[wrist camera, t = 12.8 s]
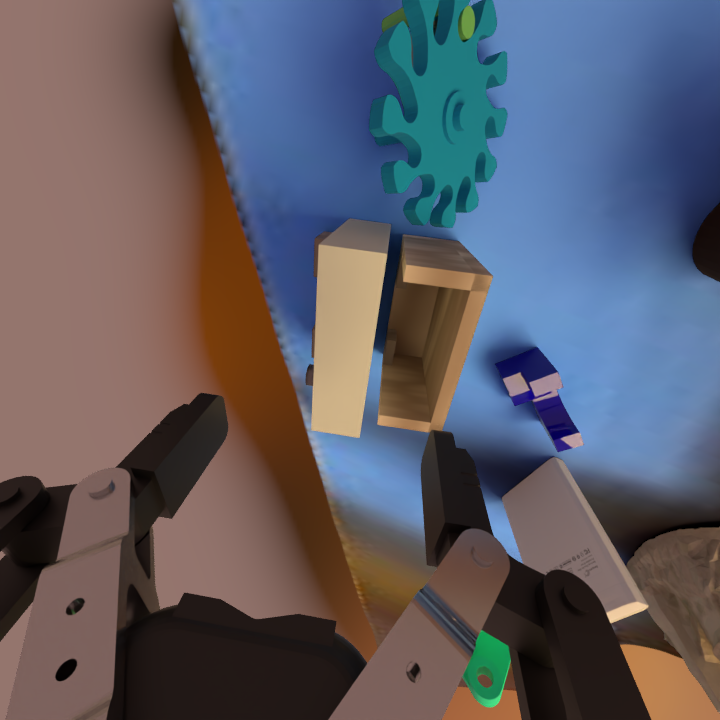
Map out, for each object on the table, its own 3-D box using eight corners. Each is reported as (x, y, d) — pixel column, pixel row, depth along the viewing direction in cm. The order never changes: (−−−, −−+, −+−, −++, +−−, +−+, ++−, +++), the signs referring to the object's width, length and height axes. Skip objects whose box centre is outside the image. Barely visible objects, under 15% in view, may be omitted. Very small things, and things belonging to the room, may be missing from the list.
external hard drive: (565, 461, 31) (652, 607, 21) (511, 503, 35) (560, 643, 25) (552, 455, 31) (634, 600, 20) (499, 498, 35) (544, 637, 25)
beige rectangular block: (391, 223, 22) (387, 253, 13) (371, 356, 27) (359, 437, 19) (335, 216, 22) (295, 241, 13) (327, 350, 28) (295, 427, 19)
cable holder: (494, 362, 27) (508, 390, 23) (536, 346, 25) (558, 371, 22) (522, 425, 30) (539, 457, 26) (561, 412, 29) (584, 444, 25)
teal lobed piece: (502, 217, 20) (395, 244, 15) (429, 215, 24) (323, 236, 19) (540, -42, 14) (389, -153, 9) (436, 12, 18) (289, -42, 13)
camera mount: (513, 594, 46) (541, 692, 37) (511, 616, 50) (536, 711, 41) (432, 591, 48) (440, 684, 39) (435, 613, 52) (443, 703, 43)
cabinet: (459, 241, 22) (493, 276, 14) (428, 360, 27) (440, 434, 19) (324, 223, 22) (285, 248, 14) (319, 345, 27) (289, 411, 20)
